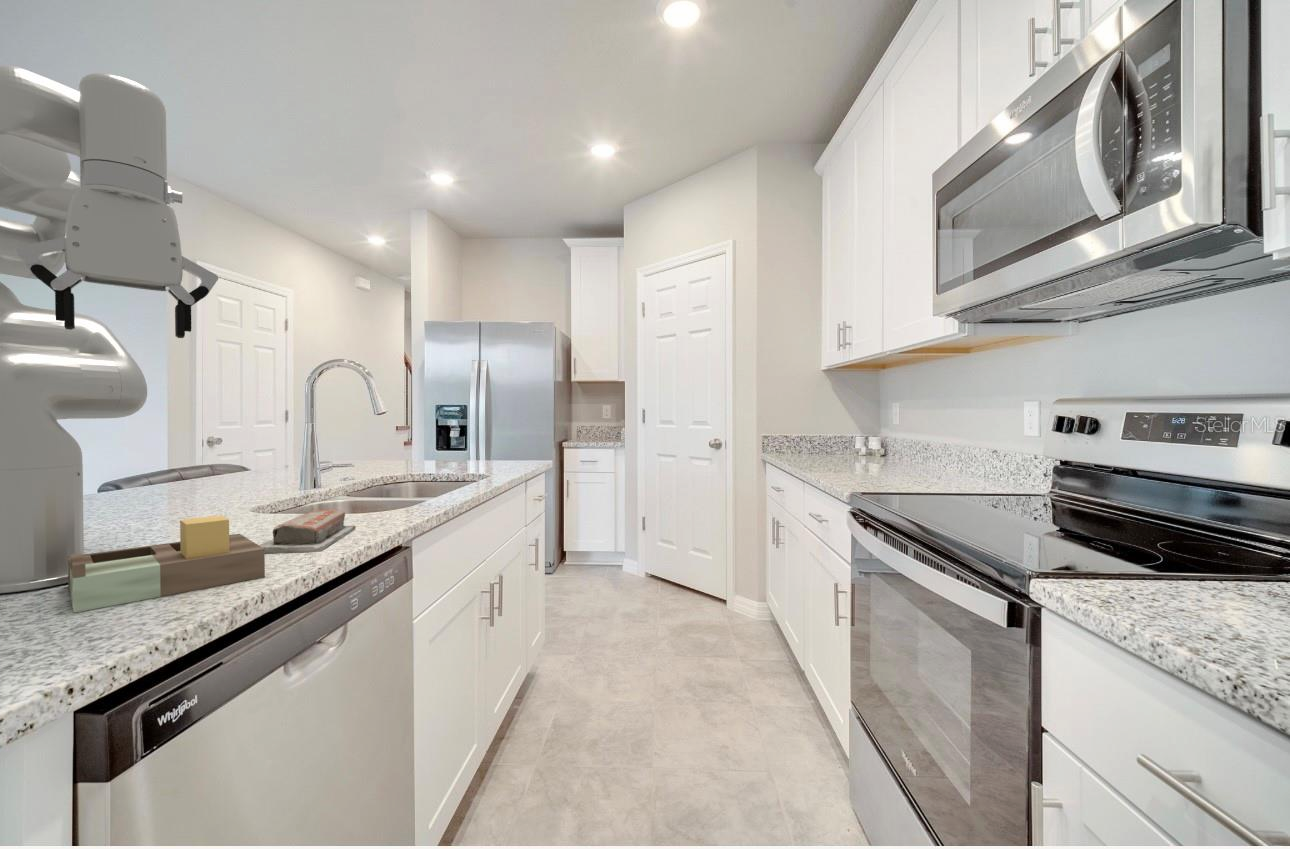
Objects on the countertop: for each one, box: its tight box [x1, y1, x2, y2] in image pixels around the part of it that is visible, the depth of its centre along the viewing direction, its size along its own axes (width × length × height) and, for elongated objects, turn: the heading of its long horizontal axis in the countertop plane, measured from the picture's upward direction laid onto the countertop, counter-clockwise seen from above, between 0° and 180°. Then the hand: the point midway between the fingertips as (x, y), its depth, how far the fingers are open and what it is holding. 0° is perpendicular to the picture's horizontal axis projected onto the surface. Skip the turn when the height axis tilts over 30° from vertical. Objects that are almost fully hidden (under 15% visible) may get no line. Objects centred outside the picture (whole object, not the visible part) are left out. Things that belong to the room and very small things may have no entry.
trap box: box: [67, 533, 266, 614], centre depth 74 cm, size 14×18×6 cm
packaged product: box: [258, 509, 356, 555], centre depth 98 cm, size 18×5×10 cm
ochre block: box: [179, 515, 230, 559], centre depth 74 cm, size 4×4×4 cm
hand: (127, 332), depth 65 cm, fingers open, 9 cm apart
